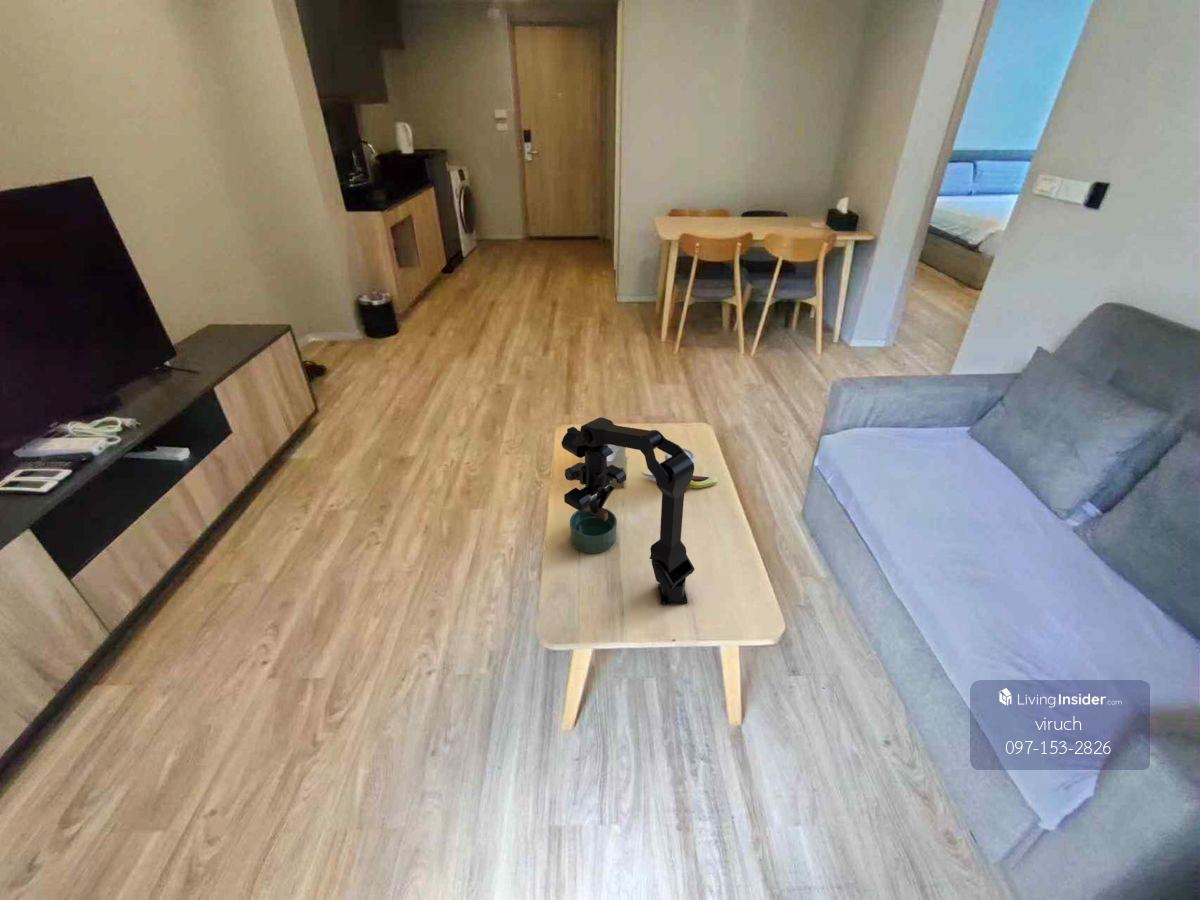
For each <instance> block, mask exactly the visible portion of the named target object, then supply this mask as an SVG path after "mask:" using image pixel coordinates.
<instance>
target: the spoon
mask: <svg viewBox="0 0 1200 900" xmlns="http://www.w3.org/2000/svg"><path fill="white" fill-rule="evenodd" d="M581 511H582V512H583V513H587V514H588V513H591V514H593V515H595V516H596V517H598V518H600V519H602V520H603V521H606V520H607V519H608V512H607V511H605V510H603V509H601V508H599V507H598V509H597V512H596V513H595V514H594V513H592V511H591V509H590V507H589V506H587V507H586V508H584V509H583V510H581Z"/></svg>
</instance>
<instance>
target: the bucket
mask: <svg viewBox="0 0 1200 900" xmlns="http://www.w3.org/2000/svg"><path fill="white" fill-rule="evenodd" d="M601 509H603V510H605V511H607V512H608V519H607V520H606V521H603V520H602V519H600V518H598V517H596V516H595V515H593V514H591V513H588V514H587V513H583V512H582V511H581V510H576V511H575V512H574V513H572V515H571V517H570V519H569V531H570V542H571V544H572V545H573V546H574V547H575V549H577V550H579V551H581V552H584V553H588V554H598V553H602V552H603V553H604V552H606V551H607V550H609V549H611V548H612V547H613V546H614V545H615V543H616V541H617V537H618V536H617V535H618V533H617V532H618V531H617V530H618V528H617V527H618V520H617V517H616V515H615V514H614V513H613V512H612V511H611V510H609V509H607V508H605V507H602V508H601Z"/></svg>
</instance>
